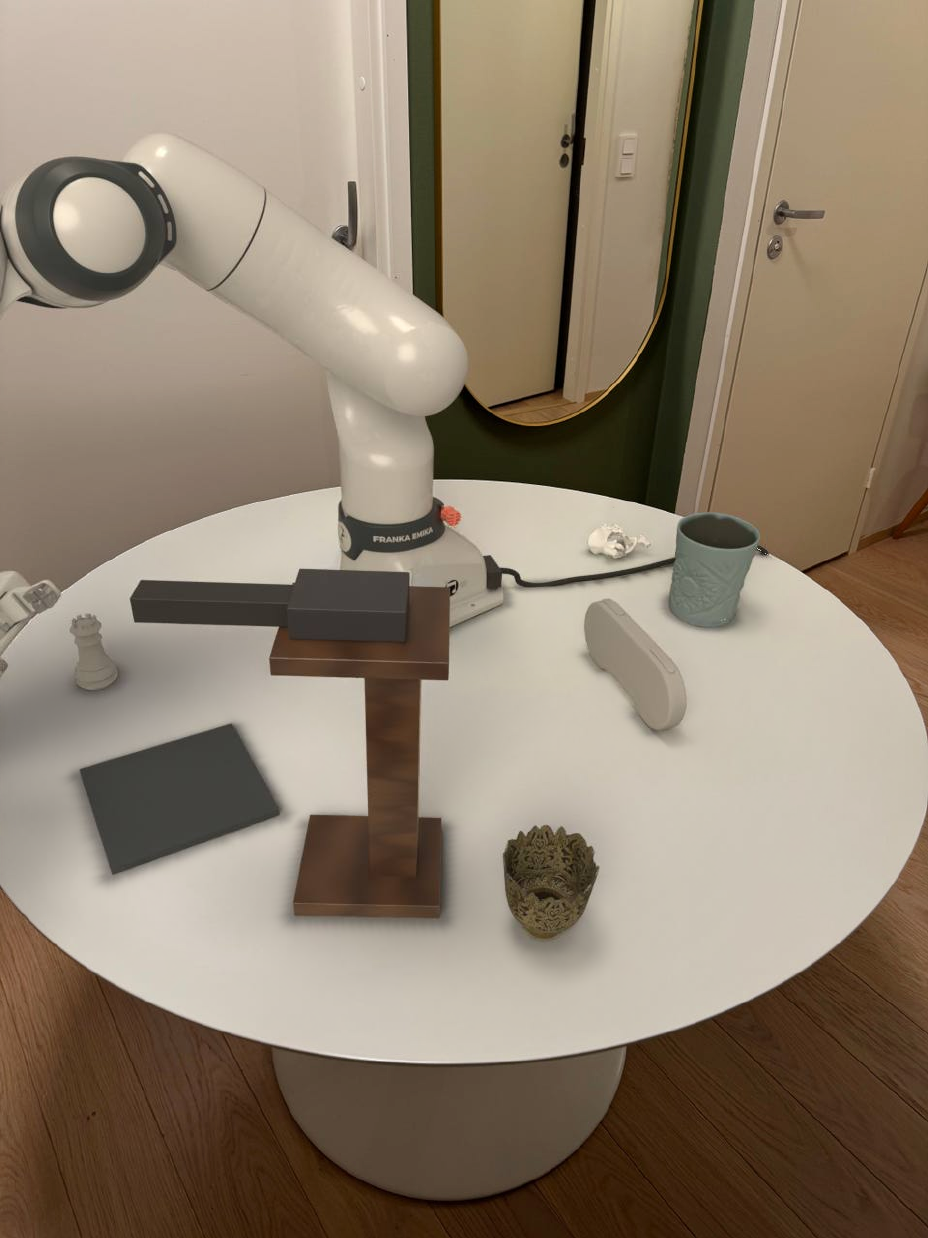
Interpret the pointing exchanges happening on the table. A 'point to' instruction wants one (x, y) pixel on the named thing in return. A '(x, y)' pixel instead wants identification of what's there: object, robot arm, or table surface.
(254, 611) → the block with square shaft
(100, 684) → the rook chess piece
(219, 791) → the mat
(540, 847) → the cup
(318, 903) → the stand
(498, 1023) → the table surface
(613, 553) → the pelvis model
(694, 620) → the teal embossed pot
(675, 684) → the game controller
